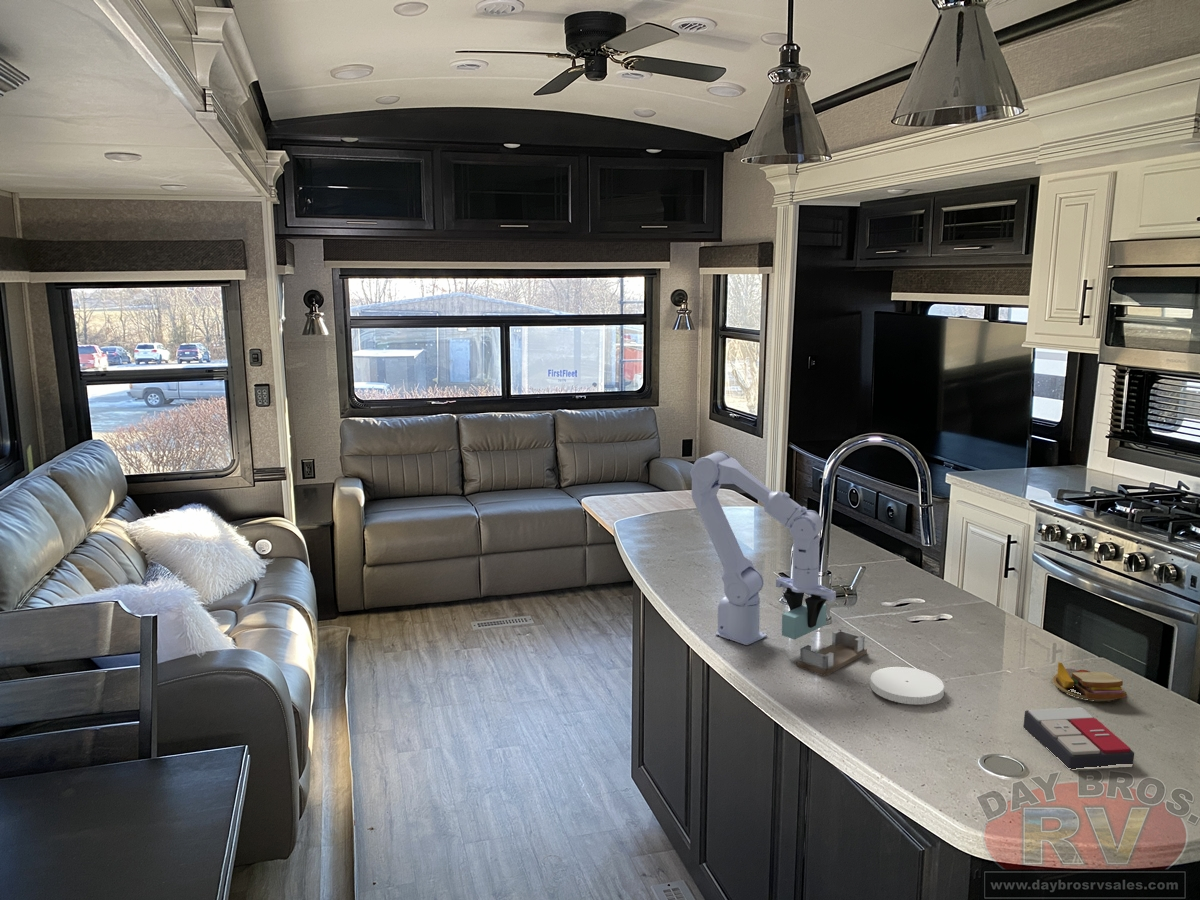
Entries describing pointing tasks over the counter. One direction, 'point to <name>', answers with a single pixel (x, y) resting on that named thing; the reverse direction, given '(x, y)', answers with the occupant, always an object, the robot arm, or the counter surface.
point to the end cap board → (835, 658)
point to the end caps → (827, 660)
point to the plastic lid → (907, 685)
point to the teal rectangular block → (800, 622)
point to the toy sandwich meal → (1089, 684)
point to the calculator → (1077, 737)
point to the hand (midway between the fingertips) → (804, 623)
